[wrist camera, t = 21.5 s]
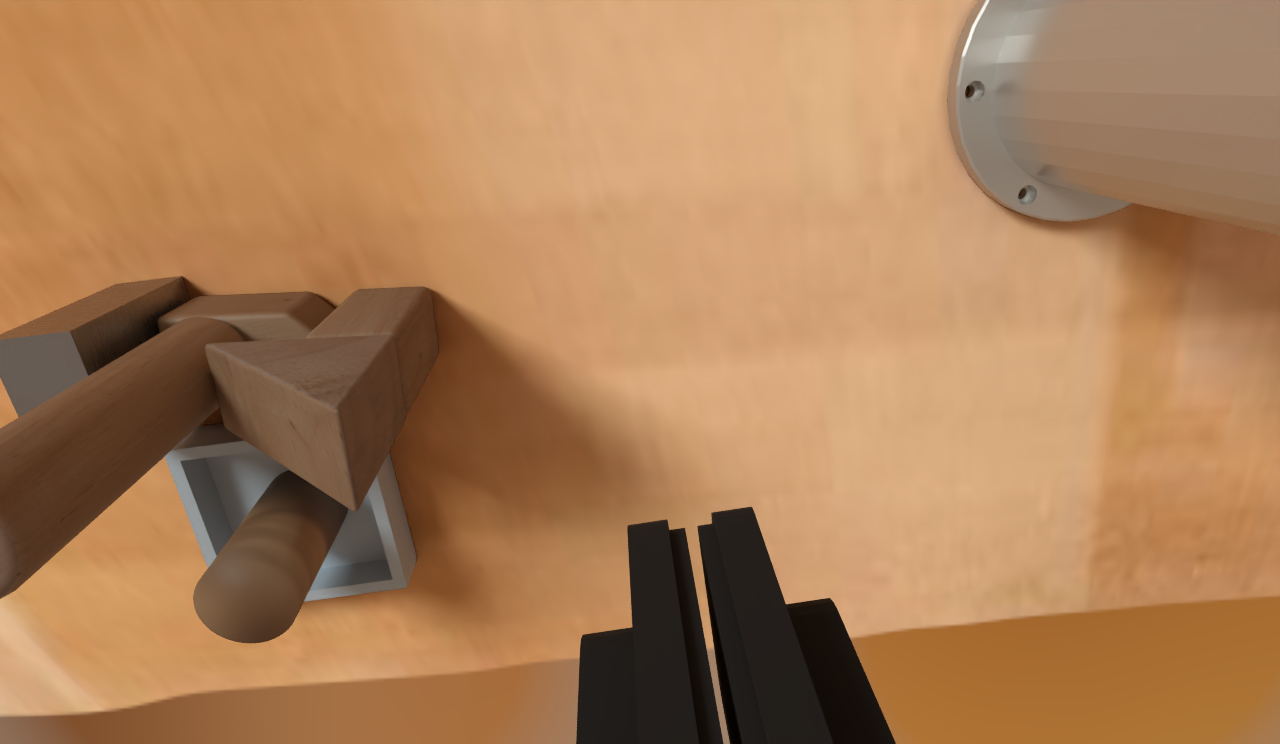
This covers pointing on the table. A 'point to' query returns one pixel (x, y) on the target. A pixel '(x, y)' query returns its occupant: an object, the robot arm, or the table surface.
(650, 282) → the table surface
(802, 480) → the table surface
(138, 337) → the rectangular block
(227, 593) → the dowel
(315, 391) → the wooden blocks
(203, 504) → the tray
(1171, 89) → the robot arm
